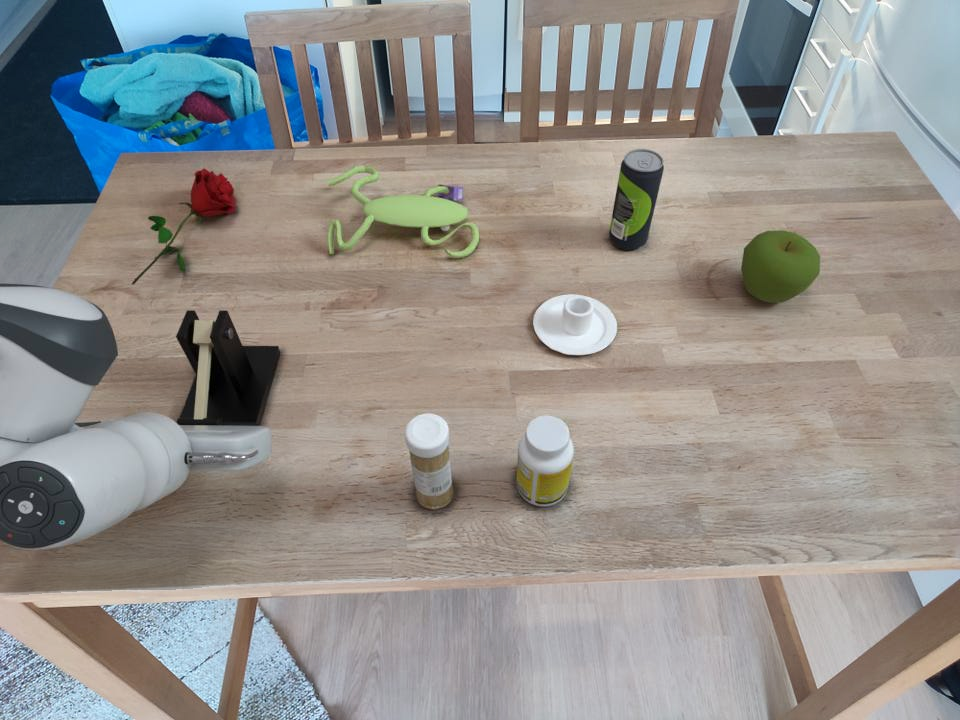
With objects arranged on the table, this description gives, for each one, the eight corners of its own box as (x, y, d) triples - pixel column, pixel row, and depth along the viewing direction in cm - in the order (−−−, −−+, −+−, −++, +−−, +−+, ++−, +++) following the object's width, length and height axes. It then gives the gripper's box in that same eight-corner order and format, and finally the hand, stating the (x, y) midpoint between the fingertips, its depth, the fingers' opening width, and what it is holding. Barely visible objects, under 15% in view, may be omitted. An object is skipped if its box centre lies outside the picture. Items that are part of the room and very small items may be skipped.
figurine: (338, 187, 118) (332, 160, 114) (486, 194, 116) (486, 166, 112) (311, 255, 106) (304, 227, 102) (476, 263, 104) (475, 235, 100)
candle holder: (555, 368, 90) (557, 347, 87) (519, 310, 97) (520, 289, 94) (631, 343, 93) (637, 322, 90) (591, 289, 100) (595, 268, 97)
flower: (134, 247, 90) (224, 145, 111) (91, 268, 94) (185, 165, 115) (182, 296, 95) (259, 189, 116) (139, 314, 99) (221, 207, 120)
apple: (735, 262, 104) (754, 210, 96) (805, 278, 101) (830, 226, 94) (726, 308, 97) (746, 256, 90) (801, 326, 95) (828, 274, 87)
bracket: (259, 429, 84) (229, 365, 74) (181, 428, 84) (141, 364, 75) (280, 352, 93) (256, 286, 83) (210, 352, 93) (177, 285, 83)
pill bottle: (575, 473, 79) (585, 420, 71) (557, 516, 76) (566, 465, 67) (527, 455, 81) (531, 402, 73) (507, 496, 78) (510, 445, 69)
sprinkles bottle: (450, 474, 80) (444, 408, 69) (457, 507, 77) (452, 443, 66) (412, 481, 79) (401, 415, 69) (418, 515, 76) (407, 452, 66)
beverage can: (648, 252, 106) (668, 171, 94) (610, 252, 106) (624, 171, 94) (644, 228, 110) (662, 147, 98) (606, 227, 110) (620, 147, 98)
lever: (224, 430, 79) (215, 429, 77) (182, 430, 79) (173, 429, 77) (231, 324, 81) (224, 320, 79) (191, 324, 82) (182, 319, 79)
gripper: (244, 427, 64) (289, 406, 78) (38, 426, 64) (119, 405, 78) (246, 491, 64) (290, 459, 78) (41, 489, 65) (121, 457, 79)
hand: (203, 432), depth 78 cm, fingers open, 8 cm apart
